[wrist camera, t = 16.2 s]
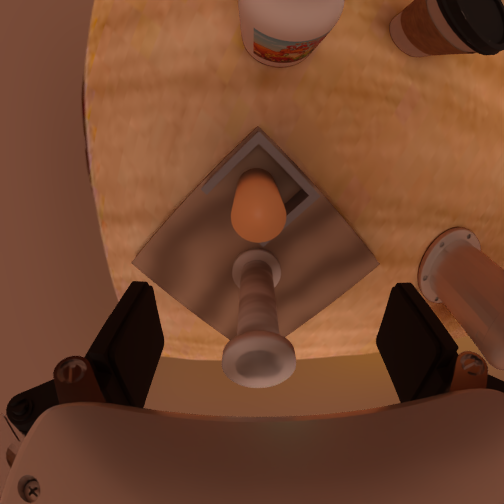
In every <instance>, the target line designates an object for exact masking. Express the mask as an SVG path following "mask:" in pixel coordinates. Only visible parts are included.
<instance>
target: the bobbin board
mask: <svg viewBox="0 0 504 504" xmlns="http://www.w3.org/2000/svg"><path fill="white" fill-rule="evenodd" d="M257 131H259V132H260V133H261V134H262V135H263V136H264V137H265V138H266V139H267V140H268V141H269V142H270V143H271V144H272V145H273V146H274V147H275V148H276V149H277V150H278V151H279V152H280V153H281V154H282V155H283V156H284V157H285V158H286V159H287V160H288V161H289V162H290V163H291V164H292V165H293V166H294V167H295V168H296V170H297V171H298V172H299V173H300V174H301V175H302V176H303V177H304V178H305V179H306V180H307V181H308V182H309V184H310V185H311V186H312V187H313V188H314V189H315V190H316V191H317V193H318V194H319V195H320V197H319V198H318V199H317V200H316V201H315V202H314V203H312V204H311V205H310V206H309V207H308V208H307V209H306V210H305V211H303V212H302V213H301V214H300V215H299V216H298V217H297V218H296V219H294V220H293V221H292V222H291V223H290V224H289V225H288V226H287V227H285V228H284V229H283V230H282V231H281V232H280V234H279V235H278V236H276V237H275V238H273V239H272V240H271V241H270V242H268V243H267V244H266V245H265V246H264V247H263V246H261V245H260V244H259V243H256V242H250V241H247V240H245V239H244V238H242V237H241V236H239V235H238V234H237V232H236V231H235V230H234V228H233V225H232V222H231V211H232V206H233V202H234V197H235V193H236V188H237V184H238V180H239V178H240V176H241V175H242V174H243V173H244V172H245V171H247V170H249V169H252V168H261V169H264V170H266V171H268V172H269V173H270V174H271V175H272V176H273V178H274V180H275V183H276V185H277V188H278V191H279V193H280V196H281V199H282V201H283V204H285V203H286V202H287V201H289V200H290V199H291V198H292V197H293V196H294V195H295V194H296V193H297V192H298V191H300V190H301V189H302V187H301V186H300V185H299V184H298V183H297V182H296V181H295V180H294V179H293V178H292V177H291V176H290V175H289V174H288V173H287V172H286V171H285V170H284V168H283V167H282V166H281V165H280V164H279V163H278V162H277V161H276V160H275V159H274V158H273V157H272V156H271V155H270V154H269V153H268V152H267V151H266V150H265V149H264V148H263V147H262V146H261V145H260V144H258V145H257V146H256V147H255V148H254V149H253V150H252V151H250V152H249V153H248V154H247V155H246V156H245V157H244V158H243V159H242V160H241V161H240V162H239V163H238V164H237V165H236V166H235V167H234V168H233V169H232V170H231V171H230V172H229V173H228V174H227V175H226V176H225V177H224V178H223V179H222V180H221V181H220V182H219V183H218V184H217V185H216V186H215V187H214V188H213V189H212V190H211V191H210V192H209V193H208V194H207V195H206V194H205V193H204V192H203V191H202V190H201V188H202V187H203V185H204V184H205V183H206V181H207V180H208V179H209V178H210V177H211V176H212V175H213V174H214V173H215V172H216V171H217V170H218V169H219V168H220V167H221V166H222V165H223V164H224V163H225V162H226V161H227V160H228V159H229V158H230V157H231V156H232V155H233V154H234V153H235V152H236V151H237V150H238V149H239V148H240V147H241V146H242V145H243V144H244V143H245V142H246V141H247V140H249V139H250V138H251V137H252V136H253V135H254V134H255V133H256V132H257ZM132 264H133V265H134V266H135V267H137V268H138V269H139V270H140V271H141V272H142V273H144V274H145V275H146V276H147V277H148V278H150V279H151V280H152V281H153V282H155V283H156V284H157V285H158V286H159V287H161V288H162V289H163V290H164V291H166V292H167V293H168V294H169V295H171V296H172V297H173V298H174V299H176V300H177V301H178V302H180V303H181V304H182V305H183V306H185V307H186V308H187V309H189V310H190V311H191V312H193V313H194V314H195V315H197V316H198V317H199V318H201V319H202V320H203V321H205V322H206V323H207V324H209V325H210V326H211V327H213V328H214V329H215V330H217V331H218V332H220V333H221V334H222V335H224V336H225V337H227V338H228V339H229V340H230V341H229V342H228V343H227V344H226V346H225V348H224V350H223V357H222V369H223V371H224V373H225V374H226V376H227V377H228V378H229V379H230V380H232V381H233V382H235V383H237V384H240V385H242V386H246V387H252V388H264V387H270V386H274V385H277V384H279V383H281V382H283V381H285V380H286V379H288V378H289V377H290V376H291V375H292V373H293V372H294V370H295V367H296V357H295V351H294V348H293V346H292V344H291V343H290V341H289V340H287V339H286V338H285V337H286V336H287V335H289V334H290V333H291V332H293V331H294V330H296V329H297V328H298V327H300V326H301V325H303V324H304V323H305V322H307V321H308V320H309V319H311V318H312V317H314V316H315V315H316V314H318V313H319V312H320V311H322V310H323V309H324V308H326V307H327V306H328V305H330V304H331V303H332V302H333V301H335V300H336V299H337V298H339V297H340V296H341V295H342V294H344V293H345V292H346V291H348V290H349V289H350V288H351V287H353V286H354V285H355V284H356V283H358V282H359V281H360V280H361V279H362V278H364V277H365V276H366V275H367V274H369V273H370V272H371V271H372V270H373V269H375V268H376V267H377V266H378V265H379V262H378V261H377V260H376V258H375V257H374V256H373V254H372V253H371V252H370V251H369V249H368V248H367V247H366V245H365V244H364V243H363V242H362V240H361V239H360V238H359V237H358V235H357V234H356V233H355V232H354V230H353V229H352V228H351V227H350V226H349V224H348V223H347V222H346V221H345V220H344V218H343V217H342V216H341V215H340V214H339V212H338V211H337V210H336V209H335V208H334V207H333V205H332V204H331V203H330V202H329V201H328V200H327V199H326V197H325V196H324V195H323V194H322V193H321V192H320V191H319V189H318V188H317V187H316V186H315V185H314V184H313V183H312V182H311V181H310V179H309V178H308V177H307V176H306V175H305V174H304V173H303V172H302V171H301V170H300V169H299V168H298V166H297V165H296V164H295V163H294V162H293V161H292V160H291V159H290V158H289V157H288V156H287V155H286V154H285V153H284V152H283V151H282V150H281V149H280V148H279V147H278V146H277V145H276V144H275V143H274V142H273V141H272V140H271V139H270V138H269V137H268V136H267V135H266V134H265V133H264V132H263V131H262V130H261V129H260V128H259V127H258V126H257V127H256V128H255V129H254V130H253V131H252V132H251V133H250V134H249V135H248V136H247V137H246V138H245V139H244V140H243V141H242V142H241V143H240V144H239V145H238V146H236V147H235V148H234V149H233V150H232V151H231V152H230V153H229V154H228V155H227V156H226V157H225V158H224V159H223V160H222V161H221V162H220V163H219V164H218V165H217V166H216V168H215V169H214V170H213V171H212V172H211V173H210V174H209V175H208V176H207V177H206V178H205V179H204V180H203V181H202V182H201V183H200V184H199V185H198V186H197V187H196V188H195V190H194V191H193V192H192V193H191V194H190V195H189V196H188V197H187V198H186V199H185V200H184V201H183V203H182V204H181V205H180V206H179V207H178V208H177V209H176V210H175V211H174V213H173V214H172V215H171V216H170V217H169V218H168V219H167V220H166V222H165V223H164V224H163V225H162V226H161V227H160V229H159V230H158V231H157V232H156V233H155V234H154V236H153V237H152V238H151V239H150V240H149V241H148V243H147V244H146V245H145V246H144V247H143V249H142V250H141V251H140V252H139V253H138V255H137V256H136V257H135V259H134V260H133V261H132Z"/></svg>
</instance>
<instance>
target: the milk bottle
mask: <svg viewBox="0 0 504 504" xmlns="http://www.w3.org/2000/svg"><path fill="white" fill-rule="evenodd" d="M238 4H239V17H240V26H241V34H242V40H243V43H244V46H245V48H246V50H247V51H248V52H249V54H250V55H251V56H252V57H254V58H255V59H256V60H258V61H259V62H261V63H263V64H266V65H270V66H274V67H287V66H292V65H295V64H297V63H299V62H301V61H302V60H304V59H305V58H306V57H307V56H308V55H309V54H310V53H311V52H312V51H313V50H314V49H315V48H316V47H317V46H318V44H319V43H320V42H321V41H322V40H323V39H324V38H325V37H326V35H327V34H328V33H329V32H330V31H331V30H332V28H333V27H334V26H335V24H336V23H337V21H338V20H339V18H340V15H341V13H342V10H343V6H344V0H238Z"/></svg>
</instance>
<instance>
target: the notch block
mask: <svg viewBox="0 0 504 504" xmlns="http://www.w3.org/2000/svg"><path fill="white" fill-rule="evenodd" d="M258 144H260V145H261V146H262V147H263V148H264V149H265V150H266V151H267V152H268V153H269V154H270V155H271V156H272V157H273V158H274V159H275V160H276V161H277V162H278V163H279V164H280V165H281V166H282V167H283V168H284V170H285V171H286V172H287V173H288V174H289V175H290V176H291V177H292V178H293V179H294V180H295V181H296V182H297V183H298V184H299V185H300V186H301V187H302V189H301V190H300V191H298V192H297V193H296V194H295V195H294V196H293V197H292V198H291V199H290V200H289V201H287V202H286V203H285V204H284V207H285V210H286V223H285V226H284V228H285V227H287V226H288V225H289V224H290V223H291V222H292V221H293V220H294V219H296V218H297V217H298V216H299V215H300V214H301V213H302V212H303V211H305V210H306V209H307V208H308V207H309V206H310V205H311V204H312V203H314V202H315V201H316V200H317V199H318V198H319V197H320V195H319V194H318V193H317V191H316V190H315V189H314V188H313V187H312V186H311V185H310V184H309V182H308V181H307V180H306V179H305V178H304V177H303V176H302V175H301V174H300V173H299V172H298V171H297V170H296V168H295V167H294V166H293V165H292V164H291V163H290V162H289V161H288V160H287V159H286V158H285V157H284V156H283V155H282V154H281V153H280V152H279V151H278V150H277V149H276V148H275V147H274V146H273V145H272V144H271V143H270V142H269V141H268V140H267V139H266V138H265V137H264V136H263V135H262V134H261V133H260V132H259V131H257V132H256V133H255V134H254V135H253V136H252V137H251V138H250V139H249V140H247V141H246V142H245V143H244V144H243V145H242V146H241V147H240V148H239V149H238V150H237V151H236V152H235V153H234V154H233V155H232V156H231V157H230V158H229V159H228V160H227V161H226V162H225V163H224V164H223V165H222V166H221V167H220V168H219V169H218V170H217V171H216V172H215V173H214V174H213V175H212V176H211V177H210V178H209V179H208V180H207V181H206V183H205V184H204V185H203V187H202V188H201V190H202V191H203V192H204V193H205V194H206V195H207V194H208V193H209V192H210V191H211V190H212V189H213V188H214V187H215V186H216V185H217V184H218V183H219V182H220V181H221V180H222V179H223V178H224V177H225V176H226V175H227V174H228V173H229V172H230V171H231V170H232V169H233V168H234V167H235V166H236V165H237V164H238V163H239V162H240V161H241V160H242V159H243V158H244V157H245V156H246V155H247V154H248V153H249V152H250V151H252V150H253V149H254V148H255V147H256V146H257V145H258ZM284 228H283V229H284ZM270 241H271V240H269V241H266V242H261V243H259V244H260V245H261V246H263V247H264V246H265V245H266V244H267V243H268V242H270Z"/></svg>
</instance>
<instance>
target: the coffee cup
mask: <svg viewBox="0 0 504 504" xmlns="http://www.w3.org/2000/svg"><path fill="white" fill-rule="evenodd" d="M390 34H391V37H392V39H393V41H394V43H395V44H396V45H397V47H398V48H399V49H400V50H401V51H403V52H404V53H406V54H408V55H410V56H413V57H422V56H429V55H446V54H474V53H479V54H483V55H495V54H497V53H499V51H502V50H504V6H503V4H502V2H501V0H414V1H413V2H412V3H411V4H410V5H409V6H407V7H406V8H405V9H404V10H403V11H402V12H401V13H399V14H398V15H397V16H396V17H395V18H393V20H392V21H391V23H390Z"/></svg>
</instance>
